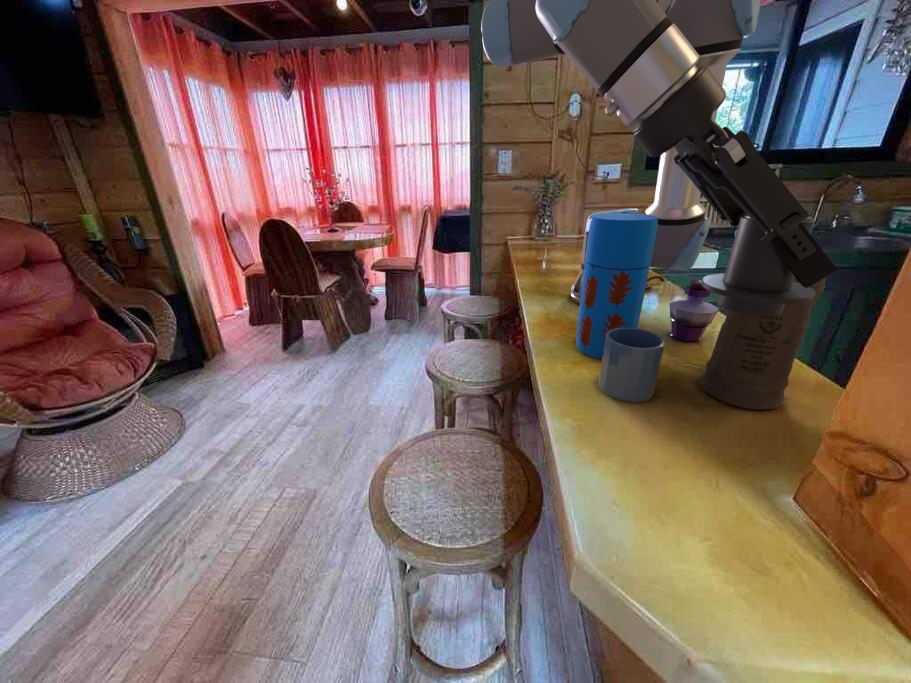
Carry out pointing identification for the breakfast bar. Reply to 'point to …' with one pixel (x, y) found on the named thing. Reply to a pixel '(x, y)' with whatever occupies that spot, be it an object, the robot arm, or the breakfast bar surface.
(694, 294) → the potion bottle
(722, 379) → the beer stein
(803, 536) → the breakfast bar surface
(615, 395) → the cup
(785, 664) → the breakfast bar surface
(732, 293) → the dripper
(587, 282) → the thermos
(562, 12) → the robot arm
